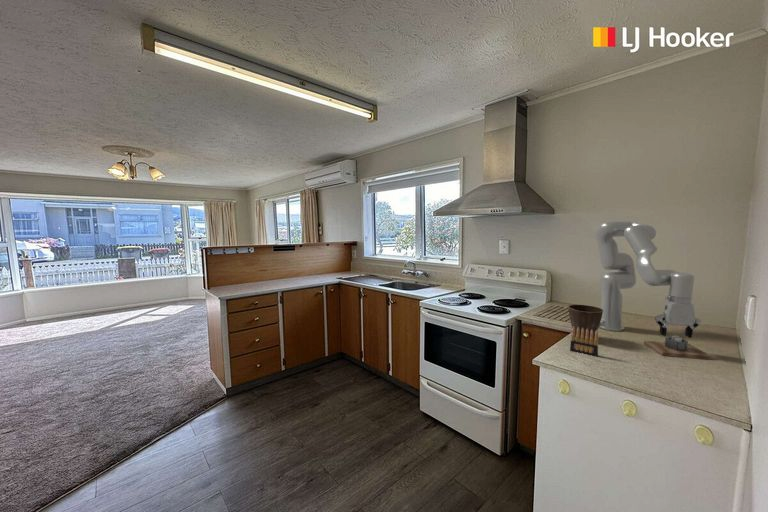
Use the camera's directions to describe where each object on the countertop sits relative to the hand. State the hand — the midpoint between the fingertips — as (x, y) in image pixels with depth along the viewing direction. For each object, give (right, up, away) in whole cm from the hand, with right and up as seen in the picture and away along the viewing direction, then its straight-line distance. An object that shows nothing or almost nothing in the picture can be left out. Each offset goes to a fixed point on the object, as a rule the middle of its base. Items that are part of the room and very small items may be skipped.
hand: (675, 335), depth 141 cm
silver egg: (0, -6, 0) cm, 6 cm away
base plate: (0, -7, 0) cm, 7 cm away
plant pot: (-31, -6, +17) cm, 36 cm away
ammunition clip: (-43, -8, -1) cm, 44 cm away
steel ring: (0, -6, 0) cm, 6 cm away
